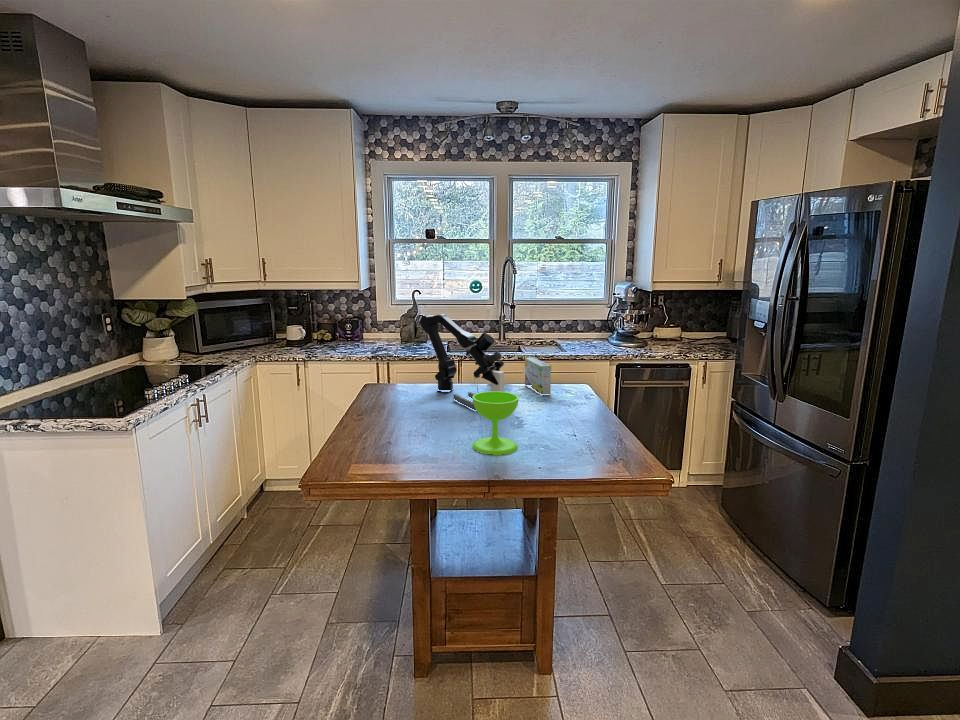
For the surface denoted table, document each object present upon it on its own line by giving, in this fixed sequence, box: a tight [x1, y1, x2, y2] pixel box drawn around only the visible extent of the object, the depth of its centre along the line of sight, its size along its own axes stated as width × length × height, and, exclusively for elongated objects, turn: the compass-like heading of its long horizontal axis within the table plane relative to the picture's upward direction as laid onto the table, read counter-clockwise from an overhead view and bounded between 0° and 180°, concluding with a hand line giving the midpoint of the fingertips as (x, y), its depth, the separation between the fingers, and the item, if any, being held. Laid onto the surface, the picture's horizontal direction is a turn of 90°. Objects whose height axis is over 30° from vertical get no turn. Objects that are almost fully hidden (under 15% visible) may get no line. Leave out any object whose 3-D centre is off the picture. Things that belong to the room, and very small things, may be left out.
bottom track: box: [453, 391, 476, 410], centre depth 235 cm, size 20×9×3 cm, turn 30°
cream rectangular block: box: [490, 370, 505, 392], centre depth 240 cm, size 5×4×12 cm
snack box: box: [524, 356, 552, 395], centre depth 259 cm, size 21×6×15 cm, turn 17°
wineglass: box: [471, 390, 520, 456], centre depth 181 cm, size 16×16×18 cm
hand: (499, 383), depth 239 cm, fingers closed on cream rectangular block, 3 cm apart
